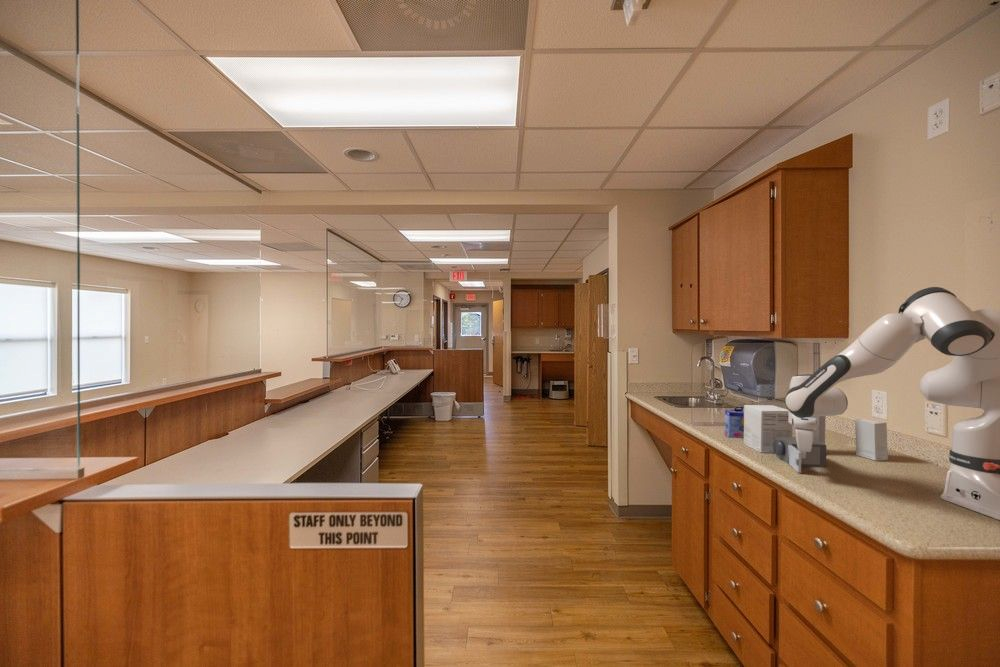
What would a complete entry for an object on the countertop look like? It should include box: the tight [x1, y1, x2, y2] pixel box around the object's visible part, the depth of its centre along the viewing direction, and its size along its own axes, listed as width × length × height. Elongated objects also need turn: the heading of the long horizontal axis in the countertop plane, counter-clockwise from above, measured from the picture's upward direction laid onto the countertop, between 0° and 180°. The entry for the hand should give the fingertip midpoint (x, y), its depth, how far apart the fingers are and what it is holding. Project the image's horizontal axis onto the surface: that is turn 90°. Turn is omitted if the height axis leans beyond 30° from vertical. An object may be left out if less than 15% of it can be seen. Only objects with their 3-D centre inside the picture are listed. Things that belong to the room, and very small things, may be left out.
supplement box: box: [743, 404, 793, 454], centre depth 180 cm, size 13×13×18 cm
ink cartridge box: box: [724, 406, 744, 439], centre depth 200 cm, size 10×6×14 cm, turn 85°
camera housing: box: [773, 436, 827, 467], centre depth 164 cm, size 11×14×9 cm
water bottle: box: [813, 416, 827, 445], centre depth 176 cm, size 9×8×25 cm
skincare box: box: [854, 418, 889, 462], centre depth 169 cm, size 8×6×15 cm
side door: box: [787, 444, 802, 474], centre depth 155 cm, size 1×11×7 cm, turn 162°
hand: (802, 457), depth 151 cm, fingers closed
